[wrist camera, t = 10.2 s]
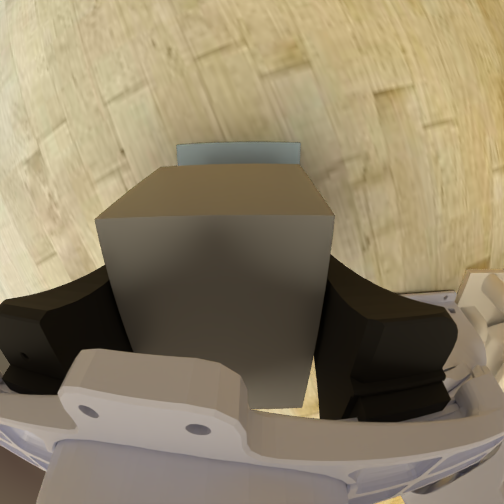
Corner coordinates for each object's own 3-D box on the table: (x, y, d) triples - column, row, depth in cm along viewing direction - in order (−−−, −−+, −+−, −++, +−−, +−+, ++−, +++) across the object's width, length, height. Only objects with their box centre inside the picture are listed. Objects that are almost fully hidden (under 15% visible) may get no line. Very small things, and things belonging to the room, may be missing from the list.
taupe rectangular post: (289, 313, 16) (302, 407, 11) (180, 312, 16) (154, 402, 11) (299, 164, 12) (334, 215, 7) (160, 166, 12) (94, 219, 7)
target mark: (300, 142, 18) (300, 142, 18) (294, 252, 22) (295, 253, 22) (177, 144, 18) (176, 145, 18) (186, 252, 22) (186, 253, 22)
